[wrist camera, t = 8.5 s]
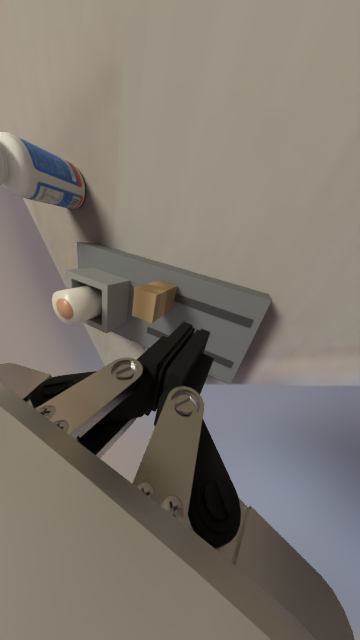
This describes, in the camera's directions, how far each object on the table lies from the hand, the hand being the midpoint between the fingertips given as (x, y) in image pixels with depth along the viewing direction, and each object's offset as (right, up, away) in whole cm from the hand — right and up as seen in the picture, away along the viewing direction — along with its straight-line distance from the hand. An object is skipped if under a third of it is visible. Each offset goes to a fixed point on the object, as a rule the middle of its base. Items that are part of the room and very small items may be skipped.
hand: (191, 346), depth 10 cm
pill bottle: (-16, +21, +14) cm, 30 cm away
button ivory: (-12, +4, +12) cm, 17 cm away
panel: (-3, +4, +15) cm, 16 cm away
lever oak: (-2, +5, +10) cm, 12 cm away
